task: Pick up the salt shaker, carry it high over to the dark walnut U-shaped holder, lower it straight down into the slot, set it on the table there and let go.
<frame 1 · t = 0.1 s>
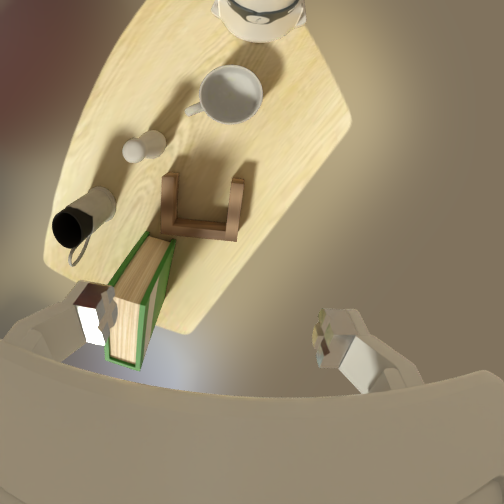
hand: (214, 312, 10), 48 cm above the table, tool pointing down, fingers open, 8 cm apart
tall mug: (99, 215, 58), on the table
walnut holder: (202, 202, 57), on the table
hardback book: (155, 267, 64), on the table
salt shaker: (155, 143, 51), on the table
teacup: (224, 99, 48), on the table
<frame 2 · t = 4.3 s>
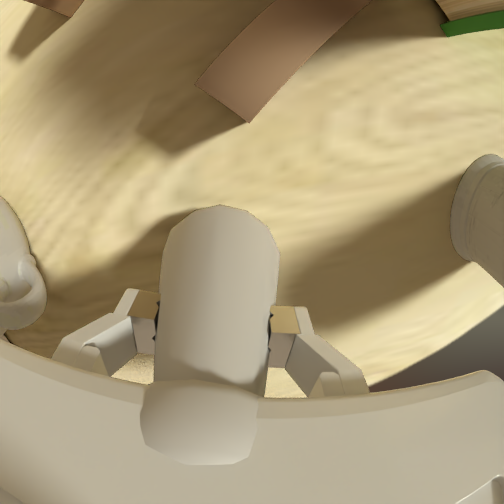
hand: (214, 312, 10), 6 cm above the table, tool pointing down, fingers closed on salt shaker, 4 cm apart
tall mug: (503, 190, 14), on the table
salt shaker: (224, 241, 16), on the table, touching gripper
teacup: (17, 241, 15), on the table
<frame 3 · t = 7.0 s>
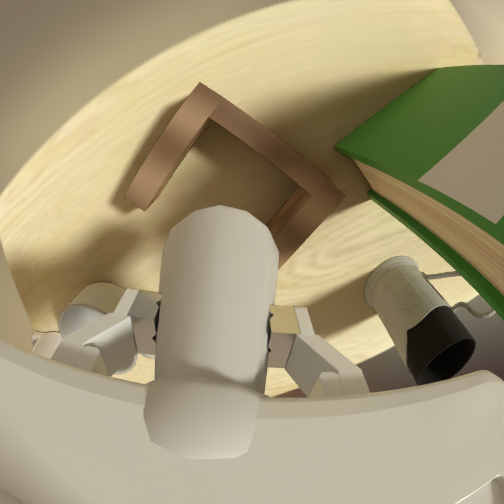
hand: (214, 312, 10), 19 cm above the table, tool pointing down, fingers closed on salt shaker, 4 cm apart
tall mug: (407, 271, 33), on the table
walnut holder: (234, 181, 27), on the table
hardback book: (408, 128, 25), on the table
salt shaker: (223, 240, 16), point 13 cm above the table, touching gripper
teacup: (126, 306, 34), on the table
when the fingers open (7 cm above the table, at t = 9.8 s): salt shaker stays where it is, on the table.
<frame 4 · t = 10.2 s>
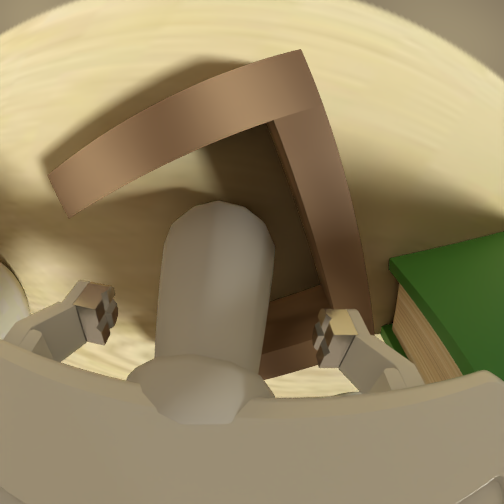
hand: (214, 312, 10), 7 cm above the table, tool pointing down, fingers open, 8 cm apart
walnut holder: (233, 234, 16), on the table
hardback book: (465, 275, 19), on the table
salt shaker: (222, 236, 17), on the table
teacup: (17, 298, 19), on the table
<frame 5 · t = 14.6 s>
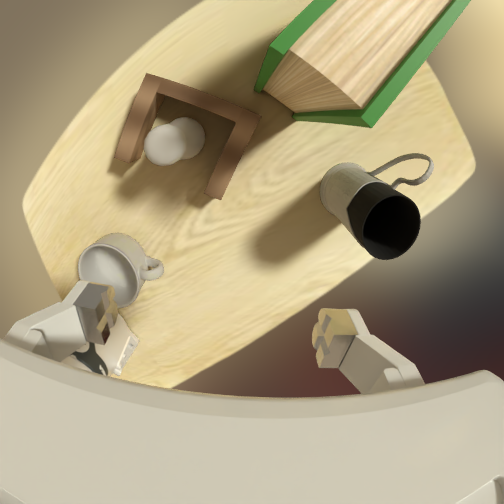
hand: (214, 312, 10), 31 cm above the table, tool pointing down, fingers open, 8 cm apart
tall mug: (357, 177, 39), on the table
walnut holder: (189, 132, 35), on the table
hardback book: (312, 61, 31), on the table
salt shaker: (187, 137, 36), on the table
teacup: (133, 254, 44), on the table
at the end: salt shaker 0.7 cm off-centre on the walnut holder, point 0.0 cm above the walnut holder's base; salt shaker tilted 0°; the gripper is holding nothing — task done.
